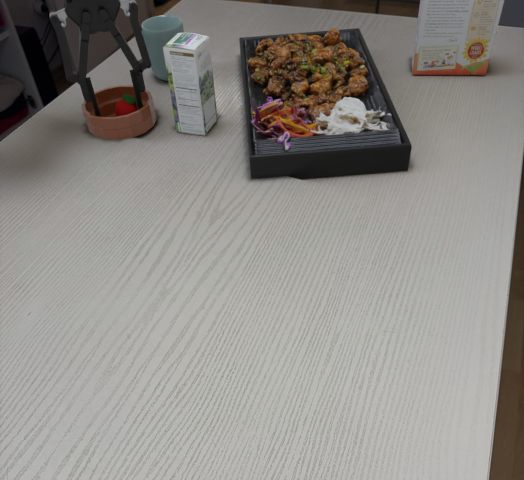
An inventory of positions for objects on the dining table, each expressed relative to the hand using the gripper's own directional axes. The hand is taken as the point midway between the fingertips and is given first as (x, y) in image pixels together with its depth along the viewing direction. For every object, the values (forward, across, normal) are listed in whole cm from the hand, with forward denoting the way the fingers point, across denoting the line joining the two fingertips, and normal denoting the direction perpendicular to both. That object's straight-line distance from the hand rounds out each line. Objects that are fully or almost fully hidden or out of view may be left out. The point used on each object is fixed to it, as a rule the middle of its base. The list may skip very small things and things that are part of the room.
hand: (120, 113), depth 97 cm
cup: (+2, +12, +16) cm, 20 cm away
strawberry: (+1, 0, 0) cm, 1 cm away
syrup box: (+2, +13, -6) cm, 14 cm away
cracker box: (+2, +64, -3) cm, 64 cm away
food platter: (+2, +34, -7) cm, 35 cm away
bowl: (+2, 0, 0) cm, 2 cm away
